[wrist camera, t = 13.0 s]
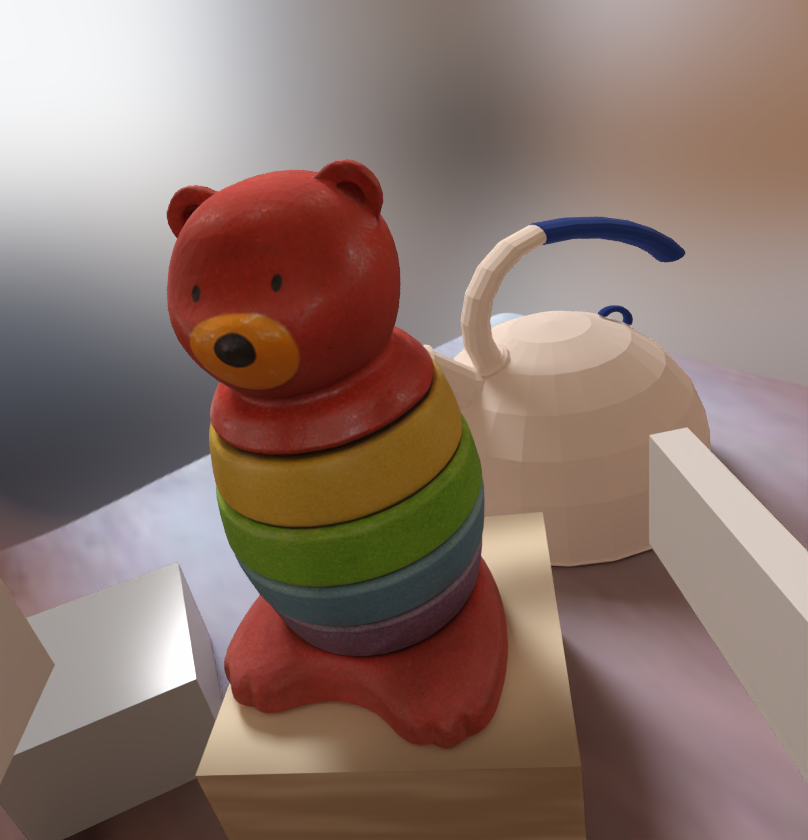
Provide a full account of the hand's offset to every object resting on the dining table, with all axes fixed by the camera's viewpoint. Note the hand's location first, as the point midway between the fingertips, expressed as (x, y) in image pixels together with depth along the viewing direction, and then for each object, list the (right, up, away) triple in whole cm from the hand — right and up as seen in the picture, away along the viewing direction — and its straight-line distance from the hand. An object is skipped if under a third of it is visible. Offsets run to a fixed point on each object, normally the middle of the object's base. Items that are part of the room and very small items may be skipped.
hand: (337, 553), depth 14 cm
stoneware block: (-13, -13, +21) cm, 28 cm away
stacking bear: (+1, -6, +14) cm, 15 cm away
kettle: (+12, -1, +35) cm, 37 cm away
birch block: (+2, -13, +18) cm, 22 cm away
